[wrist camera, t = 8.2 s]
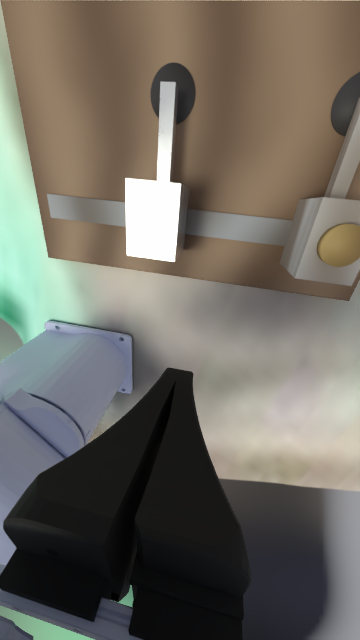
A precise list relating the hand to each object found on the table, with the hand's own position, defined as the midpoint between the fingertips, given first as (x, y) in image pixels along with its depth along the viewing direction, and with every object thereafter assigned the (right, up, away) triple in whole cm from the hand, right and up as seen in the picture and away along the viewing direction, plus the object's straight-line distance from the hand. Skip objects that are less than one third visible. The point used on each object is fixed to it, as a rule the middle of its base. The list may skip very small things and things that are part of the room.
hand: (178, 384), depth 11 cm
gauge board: (+2, +13, +4) cm, 14 cm away
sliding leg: (-1, +12, +3) cm, 13 cm away
